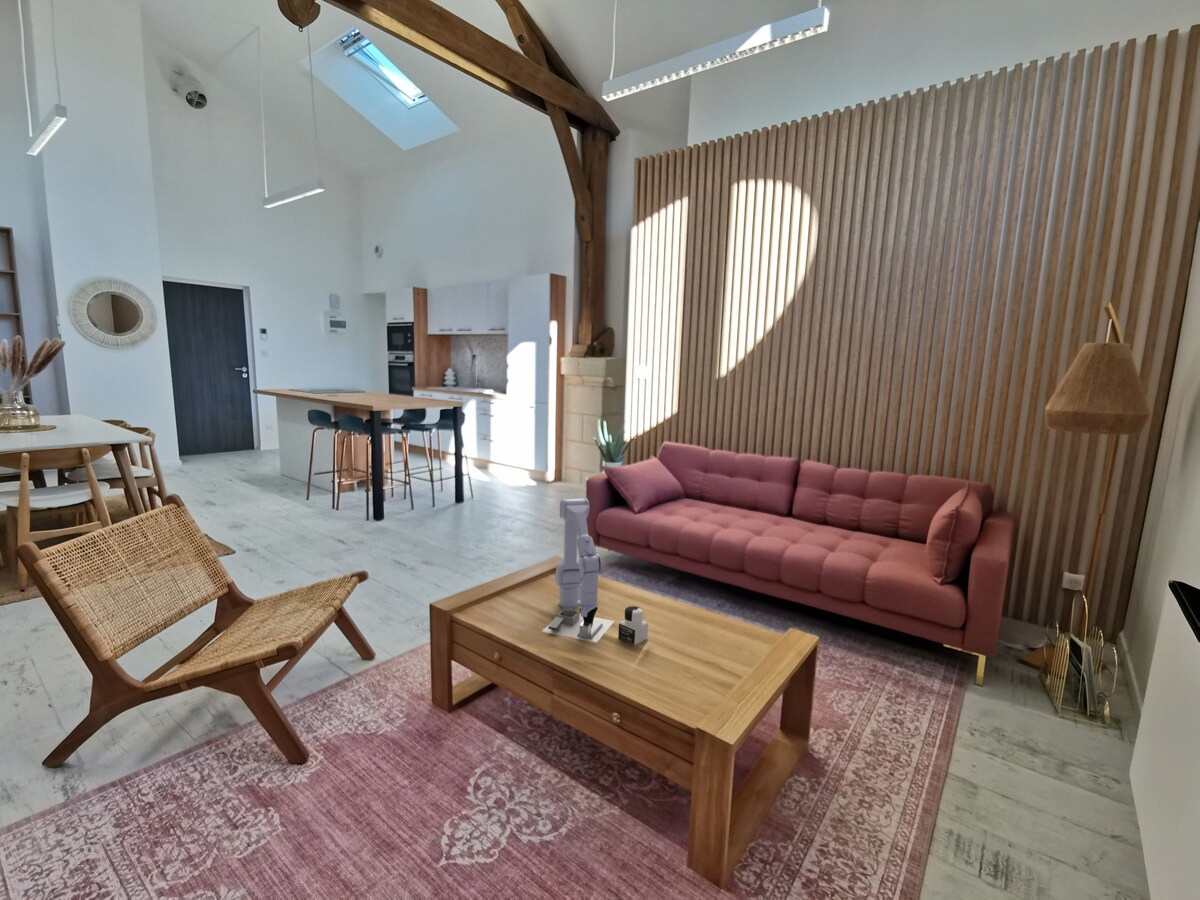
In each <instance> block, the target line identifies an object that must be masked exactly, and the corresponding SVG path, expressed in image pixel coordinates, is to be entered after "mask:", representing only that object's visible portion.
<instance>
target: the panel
mask: <svg viewBox="0 0 1200 900" xmlns="http://www.w3.org/2000/svg"><path fill="white" fill-rule="evenodd" d="M556 617H560V618H564V621H563V623H562V624H561V625H560V627H559V628H558V629H557V631H556V630H551V629H549V627H548V626H549V625H550V624H551V622H550V623H549V624H548V625H547V626H546V627H545V628H544V629H542V631H541V633H547V634H553V635H556V636H563V637H566V638H567V637H568V638H571V639H576V640H581V641H584V642H585V641H586V642H591V643H595V644H596V643H598V642H599V640H601V638H602V637H603V636H604V634H605V633H606V632H607V631H608V630H609V629H610V628H611V626H612V625H613V624H614V622H615V620H611V619H605V618H601V617H596V616H594V620H593V625H592V628H591V635H590V636H589V637H588V638H585V637H580V636H579V631H580V624H581V623H582V622H583V621H584V619H583V617H582V616H581V613H580V610H575V609H574V616H573V617H569V616H564V615H563V609H562V610H561V611H560V612H559V613H558V614H556Z"/></svg>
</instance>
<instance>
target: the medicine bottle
mask: <svg viewBox="0 0 1200 900" xmlns="http://www.w3.org/2000/svg"><path fill="white" fill-rule="evenodd" d="M643 618H644V610H643V609H642V607H638V606H636V605H635V606H633V605H632V606H627V607H626V608H625V609H624V620H621V621H619V622H618V633H617V635H618V637H617V639H619V640H621V641H623V642H626V643H628V644H630V645H632V646H636V645H638V644H640V643H642V642H644V641H646V640H647V639H648V633H649V623H648V622H647V621H644V619H643ZM645 643H648V641H646V642H645Z"/></svg>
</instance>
